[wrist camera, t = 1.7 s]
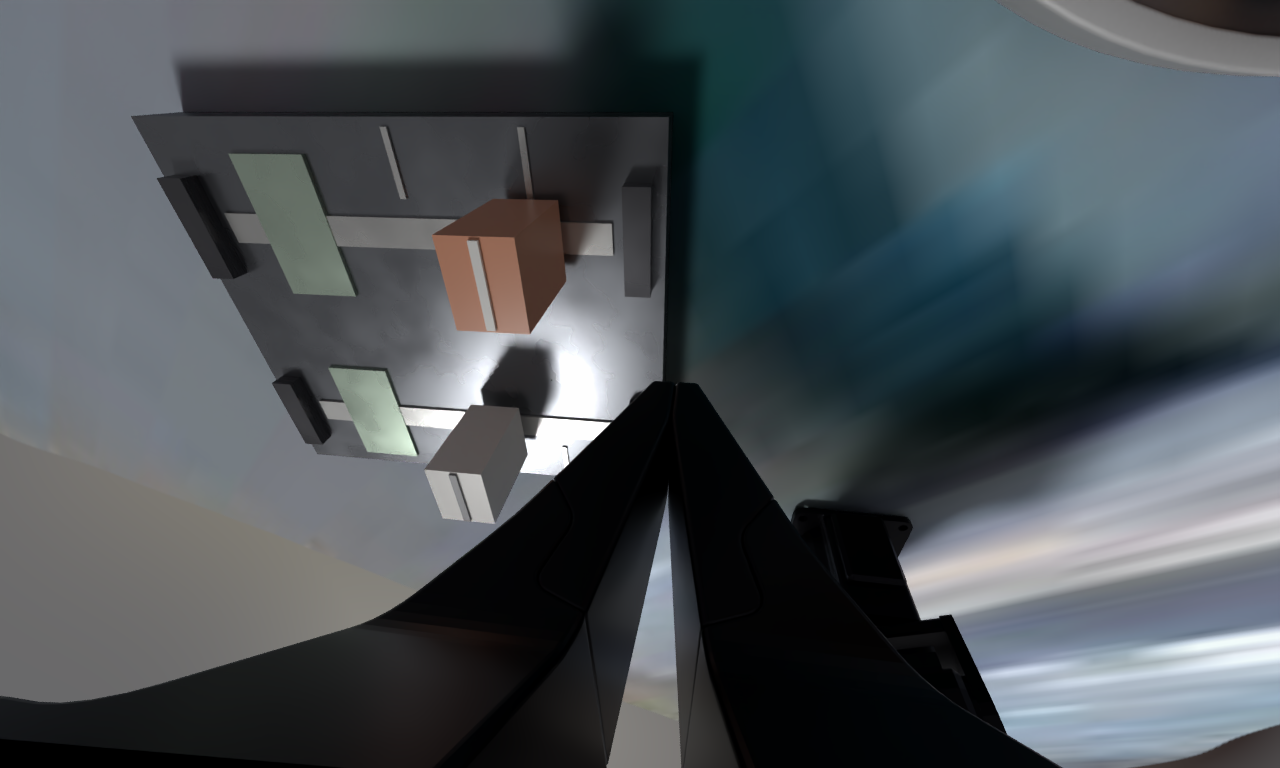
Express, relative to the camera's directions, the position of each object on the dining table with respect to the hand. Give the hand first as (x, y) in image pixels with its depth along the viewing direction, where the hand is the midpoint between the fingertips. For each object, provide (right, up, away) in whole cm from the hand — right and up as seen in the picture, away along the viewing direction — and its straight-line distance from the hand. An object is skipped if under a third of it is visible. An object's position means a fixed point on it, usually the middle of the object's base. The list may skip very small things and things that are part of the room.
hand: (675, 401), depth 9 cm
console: (-9, +4, +14) cm, 17 cm away
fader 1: (-5, +6, +8) cm, 11 cm away
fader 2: (-8, -2, +14) cm, 16 cm away
